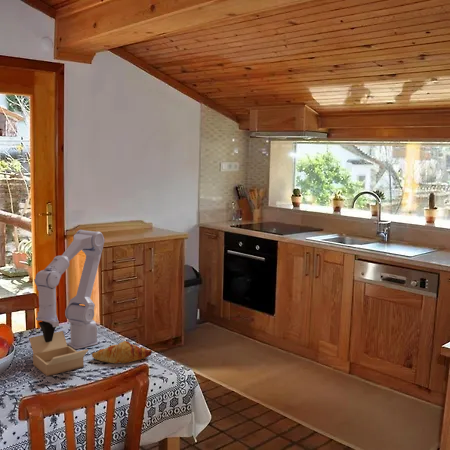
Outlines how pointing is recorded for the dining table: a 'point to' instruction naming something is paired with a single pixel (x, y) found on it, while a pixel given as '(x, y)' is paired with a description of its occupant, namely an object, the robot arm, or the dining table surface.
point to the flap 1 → (41, 346)
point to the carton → (45, 357)
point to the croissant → (121, 353)
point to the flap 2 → (67, 357)
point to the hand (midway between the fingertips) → (48, 341)
